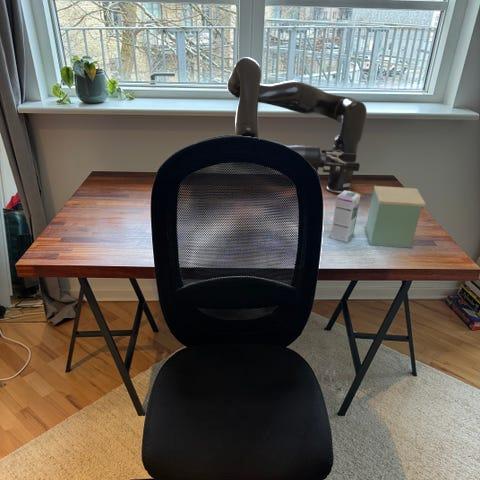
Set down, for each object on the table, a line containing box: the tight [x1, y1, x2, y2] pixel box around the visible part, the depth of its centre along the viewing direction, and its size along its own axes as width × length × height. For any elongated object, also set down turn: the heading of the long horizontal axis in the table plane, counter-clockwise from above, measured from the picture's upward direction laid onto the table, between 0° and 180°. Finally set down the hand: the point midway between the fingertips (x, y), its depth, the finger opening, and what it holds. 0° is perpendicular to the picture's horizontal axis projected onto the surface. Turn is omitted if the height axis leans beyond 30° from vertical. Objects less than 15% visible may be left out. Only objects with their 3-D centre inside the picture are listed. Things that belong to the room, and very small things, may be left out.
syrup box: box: [330, 190, 361, 243], centre depth 144 cm, size 6×6×14 cm
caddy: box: [365, 189, 423, 249], centre depth 145 cm, size 13×13×14 cm
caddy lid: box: [373, 185, 426, 208], centre depth 140 cm, size 13×13×1 cm
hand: (357, 162), depth 134 cm, fingers open, 8 cm apart
